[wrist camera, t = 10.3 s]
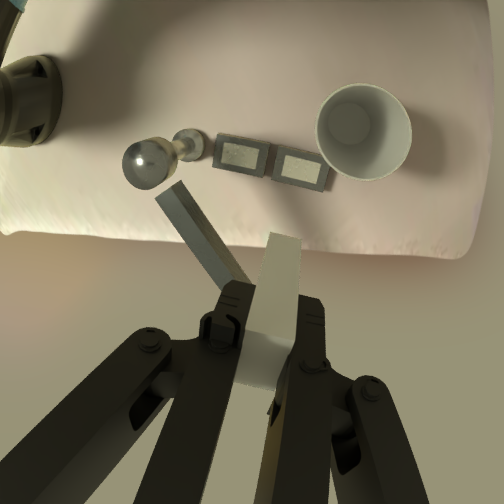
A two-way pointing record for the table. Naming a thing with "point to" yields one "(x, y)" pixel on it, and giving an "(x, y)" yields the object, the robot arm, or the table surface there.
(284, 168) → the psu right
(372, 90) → the cup
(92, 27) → the table surface
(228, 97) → the table surface
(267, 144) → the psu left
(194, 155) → the post
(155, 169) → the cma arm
